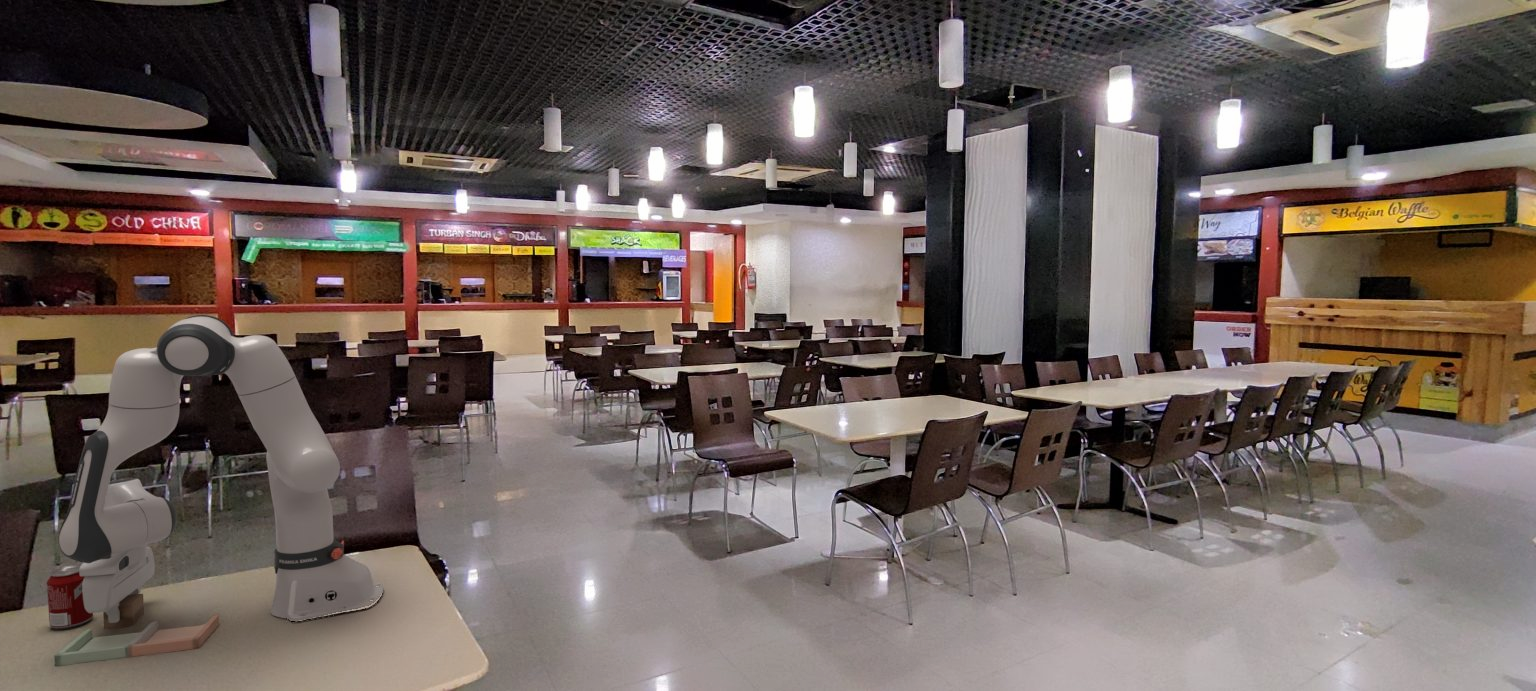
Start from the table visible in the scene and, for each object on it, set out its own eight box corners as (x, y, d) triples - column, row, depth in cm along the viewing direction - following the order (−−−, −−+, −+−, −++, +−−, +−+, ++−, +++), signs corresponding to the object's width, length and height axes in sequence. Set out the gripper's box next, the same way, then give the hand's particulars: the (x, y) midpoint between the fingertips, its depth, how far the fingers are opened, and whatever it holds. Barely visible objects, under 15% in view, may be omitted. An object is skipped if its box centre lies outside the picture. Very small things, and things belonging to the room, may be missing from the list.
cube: (144, 615, 160) (143, 593, 160) (133, 625, 156) (131, 603, 155) (116, 618, 159) (115, 596, 158) (104, 628, 154) (102, 606, 154)
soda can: (66, 632, 152) (62, 577, 151) (41, 629, 153) (37, 574, 152) (101, 618, 158) (98, 565, 157) (77, 614, 160) (73, 562, 159)
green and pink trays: (219, 623, 157) (218, 614, 157) (198, 648, 147) (198, 638, 147) (86, 638, 149) (86, 629, 149) (54, 666, 139) (54, 656, 139)
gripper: (128, 537, 165) (131, 595, 166) (73, 572, 145) (77, 638, 146) (161, 534, 167) (164, 592, 168) (111, 569, 147) (116, 634, 148)
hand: (123, 614), depth 157 cm, fingers open, 5 cm apart
